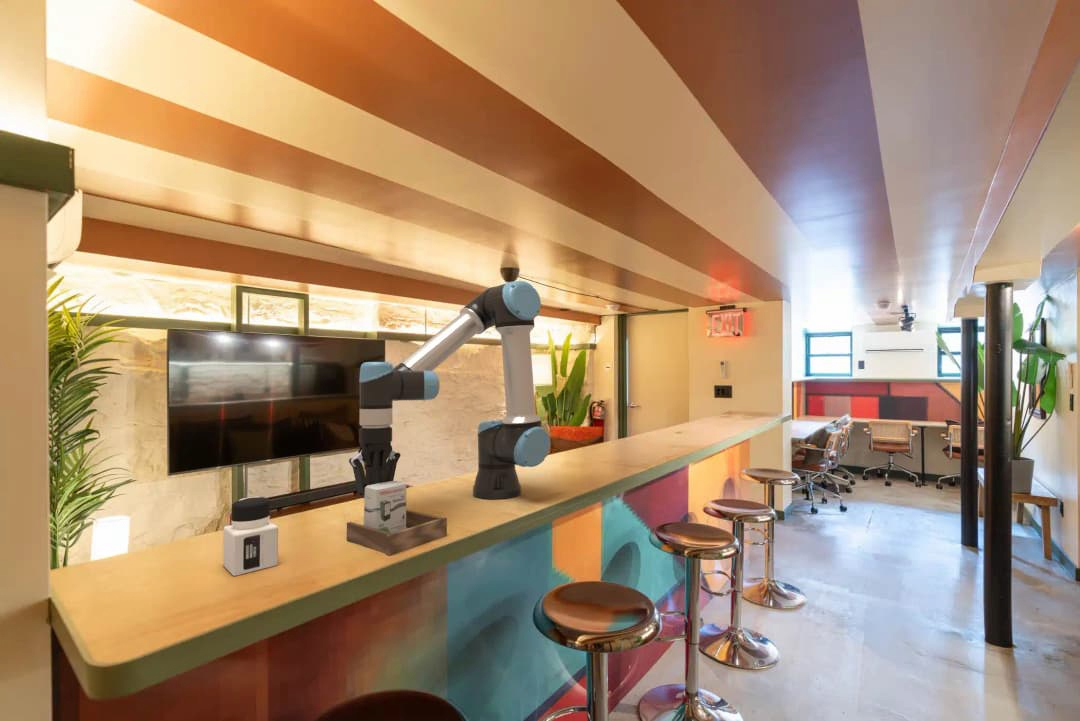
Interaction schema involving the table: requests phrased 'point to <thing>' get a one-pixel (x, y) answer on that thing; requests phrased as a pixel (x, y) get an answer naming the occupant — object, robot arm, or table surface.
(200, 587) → the table surface
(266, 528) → the container
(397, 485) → the ink box
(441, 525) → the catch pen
